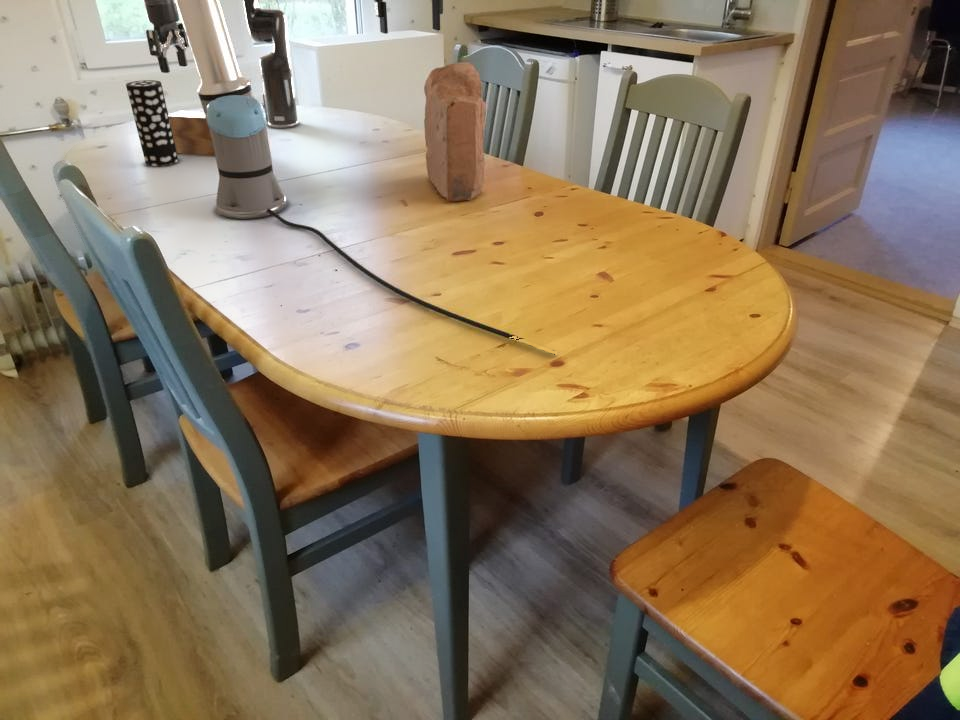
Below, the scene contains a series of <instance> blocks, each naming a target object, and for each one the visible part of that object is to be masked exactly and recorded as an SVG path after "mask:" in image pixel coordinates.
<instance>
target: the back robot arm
mask: <svg viewBox="0 0 960 720" xmlns="http://www.w3.org/2000/svg"><path fill="white" fill-rule="evenodd" d="M242 3H243V8H244V15H245V20H246V25H247V29H248V33H249V36H250V37H251V40H252V41H253V42H255V43H257V44H269V45H270V44H271V45H272V44H273V50H272V51H271V52H270V53H268V54H266V55H263V56H260V57H259V60H258V64H259V71H260V77H261V83H262V89H263V92H262V94H261V95H262V101H263V102H262V103H263V104H262V106H263V109H264V112H265V115H266V125H268V127H270V128H274V129H287V128H293V127H297V126H298V125H299V119H298V111H297V104H296V95H295V88H294V80H293V73H292V65H291V47H290V35H289V25H288V20H287V17H286V14H285V12H283V10H281V9H267V8H261V5H260V0H242ZM143 4H144V9H145V13H146V17H147V21H148V23H150V24H152V25H153V29H146V30H145V34H146V39H147V45H148V50H149V55H150V56H152V57H156V58H157V61H158V62H157V63H158V66H159V70H160V72H161V73H164V74H169V73H170V72H171V69H170V64H169V61H168V57H167V54H168V50H169V49H170V46H172V47H173V48H174V49H175V53H176V57H177V62H178V65H179V67H188V65H189V64H188V59H187V54H186V51H187V48H189V47H190V44H189V41H188V38H187V35H186V32H185V29H184V25H183V22H179V21H180V16H179V15H180V14H179V10H178V7H177V4H176V1H175V0H143Z"/></svg>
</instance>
